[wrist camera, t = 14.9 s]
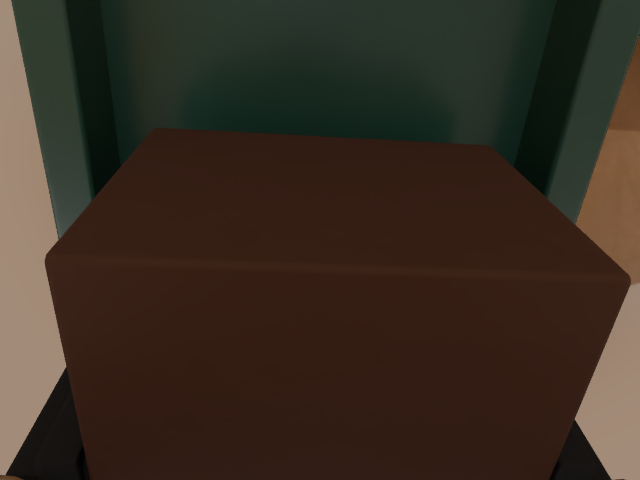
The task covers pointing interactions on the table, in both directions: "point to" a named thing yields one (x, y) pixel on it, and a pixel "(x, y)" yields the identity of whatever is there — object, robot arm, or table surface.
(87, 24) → the box
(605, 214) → the table surface
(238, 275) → the brown block
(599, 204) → the table surface
